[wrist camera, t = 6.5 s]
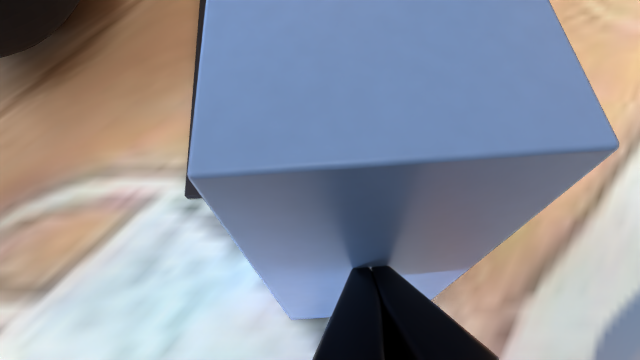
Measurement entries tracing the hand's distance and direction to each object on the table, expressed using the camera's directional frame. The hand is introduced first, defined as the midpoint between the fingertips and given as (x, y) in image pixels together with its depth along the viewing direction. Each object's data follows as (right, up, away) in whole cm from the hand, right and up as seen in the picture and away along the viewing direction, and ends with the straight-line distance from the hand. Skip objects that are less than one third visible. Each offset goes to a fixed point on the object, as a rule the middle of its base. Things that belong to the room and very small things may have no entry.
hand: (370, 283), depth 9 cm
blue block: (0, -1, +7) cm, 7 cm away
